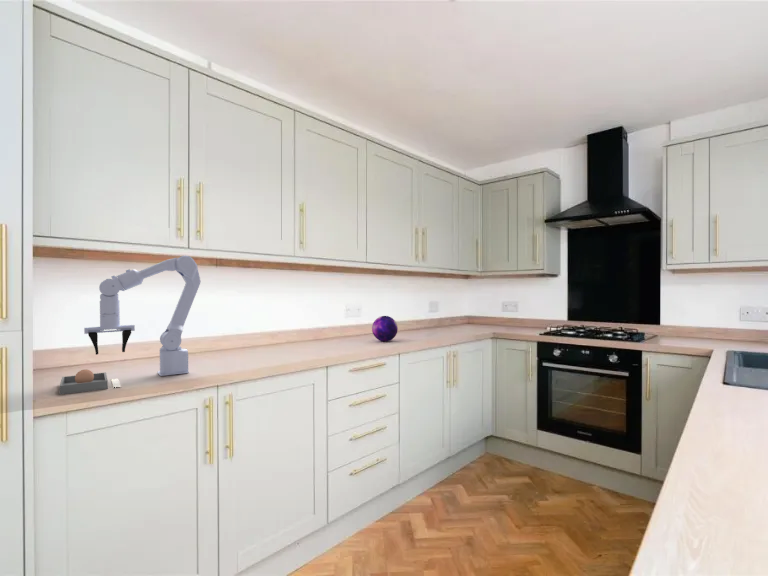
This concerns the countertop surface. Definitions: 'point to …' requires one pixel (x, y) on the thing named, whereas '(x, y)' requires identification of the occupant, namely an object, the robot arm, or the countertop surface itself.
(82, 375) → the ball
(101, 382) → the tray
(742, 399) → the countertop surface
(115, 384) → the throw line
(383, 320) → the decorative orb
